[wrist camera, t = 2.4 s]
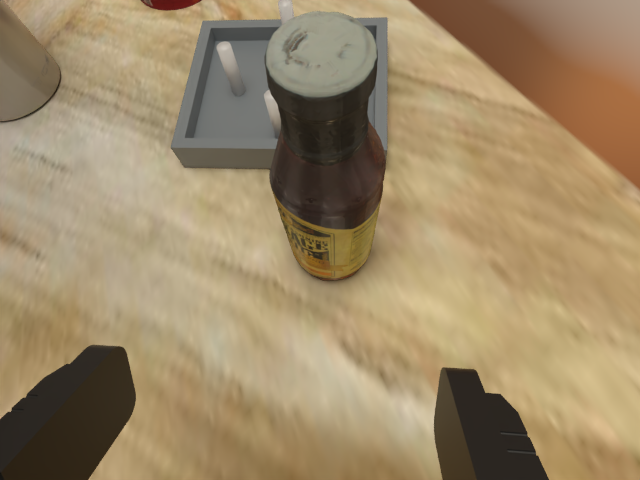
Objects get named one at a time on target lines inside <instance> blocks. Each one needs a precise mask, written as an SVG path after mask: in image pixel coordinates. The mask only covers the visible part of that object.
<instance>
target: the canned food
mask: <svg viewBox="0 0 640 480" xmlns="http://www.w3.org/2000/svg"><path fill="white" fill-rule="evenodd" d="M141 1H142V2H143V3H144V4H145V5H147V6H149V7H151V8H154V9H158V10H178V9H183V8H186V7H189V6H192V5H194V4H196V3H198V2H200V1H201V0H141Z"/></svg>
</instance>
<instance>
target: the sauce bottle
mask: <svg viewBox="0 0 640 480" xmlns="http://www.w3.org/2000/svg"><path fill="white" fill-rule="evenodd" d="M264 61H265V68H266V75H267V83H268V87H269V90H270V93H271V95H272V97H273V98H274V100H275V101H276V103H277V105H278V110H279V113H280V118H281V130H280V134H279V138H278V141H277V145H276V149H275V153H274V157H273V161H272V165H271V168H270V177H269V178H270V184H271V188H272V191H273V194H274V197H275V200H276V203H277V206H278V210H279V213H280V216H281V220H282V222H283V225H284V228H285V231H286V233H287V236H288V239H289V242H290V245H291V248H292V251H293V254H294V256H295V258H296V260H297V261H298V262H299V264H300V265H301V266H302V267H303V268H304V269H305V270H306V271H308V272H309V273H310V274H312V275H314V276H316V277H317V278H319V279H322V280H338V279H343V278H346V277H349V276H352V275H353V274H354V273H356V271H358V269H359V268H361V266H362V265H363V264H364V263H365V262H366V260H367V258H368V256H369V253H370V250H371V246H372V241H373V237H374V232H375V226H376V221H377V216H378V212H379V207H380V202H381V198H382V192H383V180H384V174H385V164H386V160H385V153H384V147H383V146H382V142H381V139H380V137H379V135H378V134H377V132H376V130H375V129H374V127H373V126H372V125H371V123H370V122H369V118H368V112H367V111H368V102H369V97H370V95H371V93H372V91H373V89H374V87H375V83H376V77H377V62H378V50H377V45H376V42H375V39H374V37H373V35H372V33H371V32H370V31H369V30H368V29H367V28H366V27H364V26H363V25H362V24H361V23H360V22H359V21H358V20H357V19H355V18H353V17H351V16H348V15H345V14H342V13H339V12H320V11H316V12H310V13H306V14H302V15H300V16H297V17H295V18H292V19H290V20H288V21H287V22H286V23H284V24H283V25H282V26H281V27H279V28H278V29H277V31H275V32H274V33H273V35H272V37H271V39H270V41H269V43H268V46H267V49H266V53H265V56H264Z"/></svg>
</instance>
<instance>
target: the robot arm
mask: <svg viewBox="0 0 640 480" xmlns="http://www.w3.org/2000/svg"><path fill="white" fill-rule="evenodd" d="M59 80H60V70H59V67H58V65H57V63H56V62H55V61H54V59H53V58H52V57H51V56H50V55H49V54H48V52H47V51H46V50H45V49H44V48H43V46H42V45H41V44H40V43H39V42H38V41H37V39H36V38H35V37H34V36H33V35H32V34H31V32H30V31H29V30H28V29H27V27H26V26H25V25H24V24H23V23H22V21H21V20H20V19H19V18H18V17H17V16H16V14H15V13H14V12H13V11H12V10H11V9H10V7H9V6H8V5H7V4H6V3H5V1H4V0H0V121H8V120H14V119H17V118H20V117H23V116H25V115H27V114H29V113H32V112H33V111H35V110H36V109H38V108H39V107H41V106H42V105H43V104H44V103H45V102H46V101H47V100H48V99H49V98H50V97H51V96H52V95H53V93H54V92H55V90H56V88H57V86H58V83H59ZM135 401H136V393H135V388H134V384H133V379H132V375H131V371H130V366H129V362H128V357H127V353H126V351H125V349H124V348H123V347H119V346H103V345H91V346H89V347H87V348H86V349H85V350H84V351H83V352H82V353H81V354H80V355H79V356H78V357H77V358H76V359H75V360H74V361H73V362H72V363H71V364H66V365H64V366H63V367H61V368H59V369H58V370H56V371H54V372H53V373H51V374H50V375H48V376H46V377H45V378H43V379H42V380H41V381H40V382H39V383H38V384H37V385H36V386H35V387H34V388H33V389H32V390H31V391H30V392H29V393H28V394H27V396H26V398H22V399H21V400H20V401H19V402H18V403H17V404H16V405H15V406H14V407H13V408H12V411H11V412H8V413H6V414H5V415H4V416H3V417H2V418H1V419H0V480H88V479H89V477H90V476H91V475H92V473H93V472H94V470H95V469H96V467H97V466H98V464H99V463H100V461H101V460H102V458H103V457H104V455H105V454H106V452H107V451H108V450H109V448H110V447H111V445H112V444H113V442H114V441H115V439H116V438H117V436H118V435H119V433H120V432H121V430H122V429H123V427H124V426H125V425H126V423H127V422H128V420H129V419H130V417H131V415H132V412H133V410H134V406H135ZM434 434H435V443H436V448H437V453H438V458H439V463H440V468H441V473H442V478H443V480H549V479H548V477H547V475H546V472H545V470H544V468H543V466H542V464H541V462H540V459H539V457H538V456H536V451H535V449H534V446H533V444H532V442H531V440H530V438H529V437H528V436H527V431H526V429H525V427H524V425H523V423H522V420H521V418H520V416H519V414H518V412H517V411H516V410H515V409H514V408H513V407H512V406H511V405H510V404H509V403H508V402H507V401H506V400H505V399H504V397H503V396H502V395H501V394H492V393H485V391H484V389H483V386H482V383H481V381H480V378H479V376H478V373H477V372H476V370H474V369H460V368H442V369H441V373H440V379H439V387H438V394H437V401H436V408H435V416H434Z"/></svg>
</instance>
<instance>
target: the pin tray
mask: <svg viewBox="0 0 640 480" xmlns="http://www.w3.org/2000/svg"><path fill="white" fill-rule="evenodd" d="M278 5H279V11H280V16H281V19H280V20H224V21H203V22H202V26H201V30H200V34H199V38H198V42H197V45H196V49H195V53H194V57H193V61H192V65H191V69H190V73H189V77H188V81H187V85H186V89H185V93H184V97H183V101H182V105H181V109H180V113H179V117H178V121H177V125H176V129H175V133H174V137H173V141H172V145H171V149H172V150H173V152H174V153H175V154H176V156H177V157H178V159H179V160H180V162H181V163H182V165H183V166H184V167H191V168H249V169H270V168H271V165H272V161H273V157H274V153H275V149H276V145H277V141H278V138H279V134H280V130H281V118H280V113H279V110H278V105H277V103H276V101H275V100H274V98H273V97H272V95H271V93H270V90H269V87H268V83H267V75H266V68H265V61H264V56H265V53H266V49H267V46H268V43H269V41H270V39H271V37H272V35H273V33H274V32H275V31H277V29H278V28H279V27H281V26H282V25H283V24H284V23H286V22H287V21H288V20H290V19H292V18H294V12H293V5H292V0H279V2H278ZM355 19H357V20H358V21H359V22H360V23H361V24H362V25H363V26H364V27H366V28H367V29H368V30H369V31H370V32H371V33H372V35H373V37H374V39H375V42H376V45H377V50H378V62H377V77H376V83H375V87H374V89H373V91H372V93H371V95H370V97H369V102H368V111H367V112H368V118H369V122H370V123H371V125H372V126H373V127H374V129H375V130H376V132H377V134H378V135H379V137H380V139H381V142H382V146H383V147H384V153H385V160H386V155H387V18H355Z"/></svg>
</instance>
